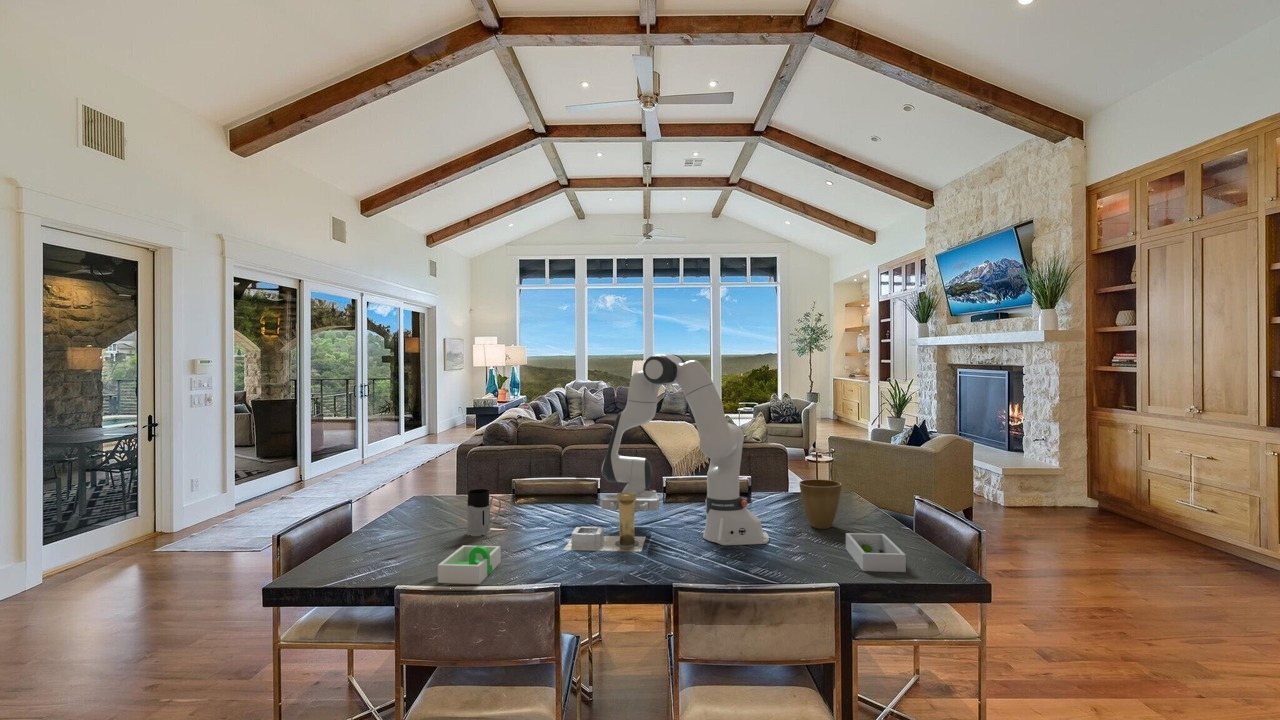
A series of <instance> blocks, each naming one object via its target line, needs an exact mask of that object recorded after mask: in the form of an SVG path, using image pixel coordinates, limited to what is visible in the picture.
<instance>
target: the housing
mask: <svg viewBox="0 0 1280 720" xmlns="http://www.w3.org/2000/svg"><path fill="white" fill-rule="evenodd" d="M646 538H647V536H635V544H633V545H621V544H620V543H619V535H605V527H601V526H582V525H581V526H575V528H574V529H573V530H572V532H571V537H570V540H569V541H568V542H567V544H566V546H565V547H564V548H563V551H591V552H592V551H593V552H594V551H597V552H639V553H640V552H642V550H643V547H644V544H645V541H646Z"/></svg>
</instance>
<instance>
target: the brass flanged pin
mask: <svg viewBox="0 0 1280 720" xmlns="http://www.w3.org/2000/svg"><path fill="white" fill-rule="evenodd" d="M616 495H617V500H619V510H618V519H619V521H618V523H619V524H618V527H619V528H618V529H619V531H618V533H619V535H618V536H619V543H620V544H621V545H633V544H635V537H636V535H635V530H636V529H635V526H636V525H635V512H634V500H636V494H635V493H630V492H624V493H622V492H618V493H617V494H616Z"/></svg>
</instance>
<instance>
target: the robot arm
mask: <svg viewBox="0 0 1280 720" xmlns="http://www.w3.org/2000/svg"><path fill="white" fill-rule="evenodd" d="M672 384H677V385H679V387H680V389H681V391H682V393H683V395H684V398H685V401H686V402H687V404H688V407H689V408H690V411H691V414H692V415H693V418H694V422H695V425H696V430H697V434H698V437H699V448H700V450H701V453H702V454H703V455H704V456H705V457H707V458H708V459H709V466H708V470H707V473H706V491H707V492H706V497H705V512H706V518H705V519H706V520H705V525H704V531H703V534H702V537H703V539H704V540H706V541H708V542H712V543H716V544H718V545H721V546H743V545H744V546H745V545H765V544H767V543H769V542H770V537H769V534H768V533H767V532H766V531H765V530H763V527H762V526H763V525H762V523H761V520H760V519H759V517H758V516H757V515H755V514H754V513H753V512H751V511H750V510H749V509H748V508H747V506H748V502H747V500H746V499H745V498H744V497H743V496H740V471H741V464H742V463H741V462H742V454H743V445H744V440H745V435H744V431H743V430H742V429H741V428H740V426H737V425H736V424H734V423H729V422H728V421H727V419H726V415H725V412H724V411H725V409H724V404H723V401H722V399H721V397H720V395H719V392H718V389H717V388H716V386H715V384H714V381H713V380H712V378H711V376H710V375H709V373H708V371H707V370H706V368H705V367H704V365H703V364H702V363H701V361H699V360H696V359H692V360H691V359H690V360H687V361H685V359H683V357H681V356H680V355H677V354H671V353H670V354H669V353H656V354H653V355H650V356H649V357H648V358H646V359H645V361H644V363H643V365H642V370H638V371H636V372H634V373H633V374H632V376H631V378H630V381H629V385H628V392H627V401H626V404H625V407H624V409H623V410H622V411H621V412H618V414H617V416H616V418H615V420H614V423H613V424H614V425H613V428H612V430H611V431H612V432H611V435H610V439H609V442H608V446H607V451H606V455H605V457H604V460H603V461H602V465H601V476H602V477H603V478H604V480H606V481H607V482H609V483H627V484H626V485H625V486H624V488H623V490H622V491H621V493H624V492H630V493H635V494H636V500H634V513H636V512H644V511H659V510H660V497H659V495H658V494H657V491H656V490H655V489H650V486H651V484H652V479H653V466H652V464H651V462H650V460H649V459H648V458H646V457H639V456H629V455H628V456H627V455H625V456H624V455H620V454H619V451H620V450H619V449H620V445H621V442H622V437H623V434H624V433H625V432H626V431H628V430H630V429H632V428H636V427H639V426H642V425H643V426H644V425H646V424H648V423H649V422H650V421H652V420H653V419H654V418H655V416H656V413H657V407H658V394H659V390H660V388H661V387H662V386H667V385H672ZM600 509H602V510H607V511H609V510H611V511H617V510H618V511H619V500H617V494H607V495H604V496H602V497H601V498H600Z"/></svg>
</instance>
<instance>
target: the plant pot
mask: <svg viewBox="0 0 1280 720" xmlns="http://www.w3.org/2000/svg"><path fill="white" fill-rule="evenodd" d="M798 482H799V489H800V495H801V501H802V504H803V507H804V512H805V514H806V518H807V520H808V523H809V525H810V527H812V528H815V529H820V530H821V529H830V527H831V528H832V526H833V524H834V521H835V517H836V514H837V512H838V507H839V503H840V499H841V498H840V497H841V491H842V482H839V481H836V480H831V479H817V478H815V479H803V480H801V481H798Z"/></svg>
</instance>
